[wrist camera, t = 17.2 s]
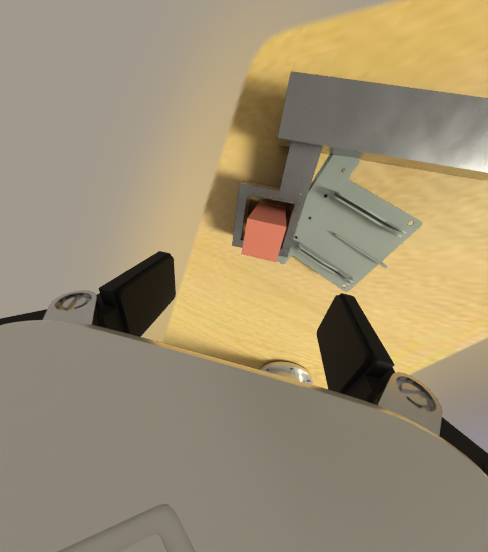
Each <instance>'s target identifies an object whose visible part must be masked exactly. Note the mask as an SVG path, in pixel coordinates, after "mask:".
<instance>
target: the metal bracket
mask: <svg viewBox="0 0 488 552" xmlns="http://www.w3.org/2000/svg"><path fill="white" fill-rule="evenodd" d="M358 164H359V159H358V158H354V157H346V156H339V155H331V154H330V156H329V157H328V159H327V160H326V162H325V163H324V165H323V166H322V168H321V169H320V171H319V172H318V174H317V176H316V180H315V182H314V184H313V185H312V187H311V188H310V190H309V191H308V194H307V197H306V200H305V204H304V207H303V210H302V213H301V216H300V219H299V222H298V226H297V229H296V232H295V235H294V238H293V241H292V245H291V248H290V251H289V254H288V257H282V256H278V257H277V261H278V262H280V263H281V264H285V263H286V261H287V260H288V259H289V257H290V256H294V257H295V258H297V259H298V260H300V261H301V262H303V263H304V264H305V265H307V266H308V267H310V268H311V269H313V270H314V271H316V272H317V273H319V274H320V275H321V276H323V277H324V278H326V279H327V280H329V281H330V282H332V283H333V284H335V285H336V286H337V287H339V288H340V289H342V290H343V291H345V292H348V291H349V290H350V289H351V288H353V287H354V286H355V285H356V284H357V283H358V282H359V281H360V280H361V279H363V278H364V277H365V276H366V275H367V274H368V273H369V272H370V271H371V270H373V269H374V268H375V267H376V266H377V265H378V264H380V265H381V266H383V267H384V268H386V269H387V268H388V267H387V266H386V265H385V264H384V263H383V262H382V261H383V260H384V259H385V258H386V257H387V256H388V255H389V254H390V253H391V252H393V251H394V250H395V249H396V248H397V247H398V246H399V245H400V244H401V243H403V242H404V241H405V240H406V239H407V238H408V237H409V236H410V235H411V234H413V233H414V232H415V231H416V230H417V229H418V228H419V227H420V226H421V225H422V222H421V221H419V220H418V219H416V218H414V217H412V216H411V215H409V214H407V213H406V212H404V211H402V210H400V209H399V208H397V207H395V206H393V205H392V204H390V203H388V202H386V201H385V200H383V199H381V198H379V197H378V196H376V195H374V194H373V193H371V192H369V191H367V190H366V189H364V188H362V187H360V186H359V185H357V184H355V183H353V182H352V181H350V180H349V176H350V175H351V173H352V172H353V171H354V169H355V168H356V167H357V165H358ZM342 169H345V172H342ZM325 194H326V195H327V197H326V198H324V195H325ZM309 217H311V219H309ZM410 221H413V222H414V223H413V225H410V226H409V225H408V222H410ZM295 236H297V237H298V238H295ZM343 284H345V285H346V287H342V285H343Z"/></svg>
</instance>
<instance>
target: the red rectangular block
mask: <svg viewBox="0 0 488 552" xmlns="http://www.w3.org/2000/svg"><path fill="white" fill-rule="evenodd" d="M286 227H287V226H286V213H285V207H284V206H279V205H275V204H270V203H265V202H259V203H258V204H257V206H256V207H255V209H254V210H253V211H252V213H251V214H250V216H249V217H248V218H247V224H246V230H245V236H244V241H243V247H242V253H241V254H243V255H248V256H252V257H256V258H261V259H265V260H269V261H273V262H276V261H277V257H278V254H279V251H280V247H281V244H282V241H283V237H284V234H285V231H286Z"/></svg>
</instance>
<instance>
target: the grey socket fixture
mask: <svg viewBox="0 0 488 552" xmlns="http://www.w3.org/2000/svg"><path fill="white" fill-rule="evenodd" d="M278 144H279V146H284V147H289V151H288V155H287V160H286V164H285V168H284V172H283V177H282V181H281V185H280V188H278V187H273V186H268V185H262V184H257V183H252V182H243V183H240V185H239V193H238V201H237V209H236V218H235V226H234V234H233V242H232V246H236V247H241V248H242V247H243V241H244V236H245V230H246V224H247V218H248V213H249V207H250V201H251V196H256V197H261V198H266V199H271V200H277V201H282V202H287V203H292V204H291V208H290V211H289V215H288V219H287V222H286V226H287V227H286V231H285V234H284V237H283V241H282V244H281V247H280V251H279V254H278V256H282V257H288V254H289V251H290V248H291V245H292V241H293V238H294V235H295V232H296V229H297V226H298V222H299V219H300V216H301V213H302V210H303V207H304V204H305V200H306V197H307V194H308V191H309V188H310V185H311V181H312V178H313V175H314V172H315V169H316V166H317V163H318V159H319V156H320V153H325V154H331V155H339V156H346V157H354V158H358V159H361V160H366V161H372V162H378V163H384V164H390V165H396V166H402V167H408V168H414V169H420V170H425V171H431V172H437V173H443V174H449V175H455V176H461V177H467V178H473V179H479V180H488V98H482V97H474V96H467V95H460V94H452V93H445V92H438V91H431V90H423V89H416V88H409V87H401V86H394V85H387V84H379V83H372V82H365V81H357V80H350V79H343V78H335V77H328V76H321V75H313V74H306V73H299V72H291V74H290V79H289V84H288V89H287V94H286V99H285V104H284V109H283V114H282V119H281V124H280V129H279V134H278Z"/></svg>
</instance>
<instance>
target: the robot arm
mask: <svg viewBox="0 0 488 552" xmlns="http://www.w3.org/2000/svg"><path fill="white" fill-rule="evenodd" d="M99 291H100V293H99V294H98V295H96V294H95V293H94V292H91V291H84V290H83V291H74V292H70V293H67V294H64V295H62V296H60V297H58V298H56V299H55V300H53V301H52V302H51V304H50V305H49V307H48V309H47V310H42V311H37V312H32V313H27V314H22V315H17V316H12V317H6V318H2V319H0V552H488V453H486V452H485V451H484V450H483V449H481V448H480V447H479V446H478V445H476V444H475V443H474V442H473V441H471V440H470V439H469V438H468V437H466V436H465V435H464V434H463V433H461V432H460V431H459V430H458V429H456V428H455V427H454V426H453V425H451V424H450V423H449V422H448V421H446V420H445V419H444V418H443V417H442V407H441V405H440V403H439V401H438V399H437V398H436V397H435V395H434V394H433V393H432V392H431V391H430V390H429V389H428V388H427V387H426V386H425V385H424V384H422V383H421V382H420V381H418V380H417V379H415V378H414V377H412V376H410V375H407V374H405V373H400V372H397V373H395V371H394V369H393V368H392V367H393V366H394V363H393V361H392V360H391V358H390V356H389V355H388V353H387V351H386V350H385V348H384V346H383V344H382V343H381V341H380V339H379V338H378V336H377V334H376V333H375V331H374V329H373V328H372V326H371V324H370V323H369V321H368V319H367V318H366V316H365V314H364V313H363V311H362V309H361V308H360V306H359V304H358V302H357V301H356V299H355V297H354V296H351V295H347V294H340V295H336V296H335V298H334V300H333V302H332V304H331V306H330V307H329V309H328V311H327V313H326V315H325V317H324V319H323V320H322V322H321V324H320V326H319V328H318V330H317V338H318V343H319V348H320V352H321V357H322V362H323V366H324V371H325V375H326V380H327V385H328V389H329V390H328V389H324V388H321V387H318V386H314V385H312V383H313V382H312V377H311V374H310V373H309V372H308V371H307V370H306V369H305V368H303V367H301V366H299V365H297V364H294V363H290V362H282V361H279V362H271V363H268V364H266V365H264V366H263V367H262V368H261V369H260V370H258V369H255V368H251V367H247V366H244V365H240V364H237V363H233V362H229V361H226V360H222V359H219V358H215V357H211V356H208V355H204V354H201V353H197V352H193V351H190V350H186V349H182V348H179V347H175V346H171V345H168V344H164V343H160V342H157V341H153V340H149V339H145V338H142V337H141V336H142V334H143V333H144V332H145V331H146V330H147V329H148V328H149V327H150V325H151V324H152V323H153V322H154V321H155V320H156V319H157V318H158V316H159V315H160V314H161V313H162V312H163V311H164V310H165V309H166V307H167V306H168V305H169V304H170V303H171V302H172V301H173V299H174V298H175V295H176V292H175V291H176V290H175V275H174V259H173V257H172V256H171V254H170V253H165V252H161V251H159V252H157V253H156V254H154V255H152V256H151V257H149V258H147V259H146V260H144V261H142V262H141V263H139V264H138V265H136V266H134V267H133V268H131V269H129V270H128V271H126V272H124V273H123V274H121V275H120V276H118V277H116V278H115V279H113V280H111V281H110V282H108V283H106V284H105V285H103V286H101V287H100V288H99Z"/></svg>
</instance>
